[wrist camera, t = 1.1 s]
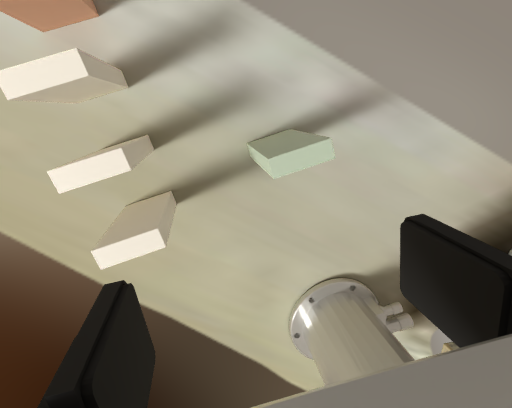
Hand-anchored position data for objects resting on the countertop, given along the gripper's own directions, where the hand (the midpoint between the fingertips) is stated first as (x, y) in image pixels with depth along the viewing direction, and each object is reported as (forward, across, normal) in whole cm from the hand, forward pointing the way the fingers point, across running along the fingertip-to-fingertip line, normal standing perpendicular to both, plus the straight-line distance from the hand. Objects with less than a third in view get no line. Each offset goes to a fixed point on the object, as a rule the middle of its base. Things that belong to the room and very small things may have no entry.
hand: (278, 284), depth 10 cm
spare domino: (+24, -5, -1) cm, 25 cm away
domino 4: (+24, +10, -9) cm, 28 cm away
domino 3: (+24, +9, -3) cm, 26 cm away
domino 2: (+24, +8, +3) cm, 26 cm away
